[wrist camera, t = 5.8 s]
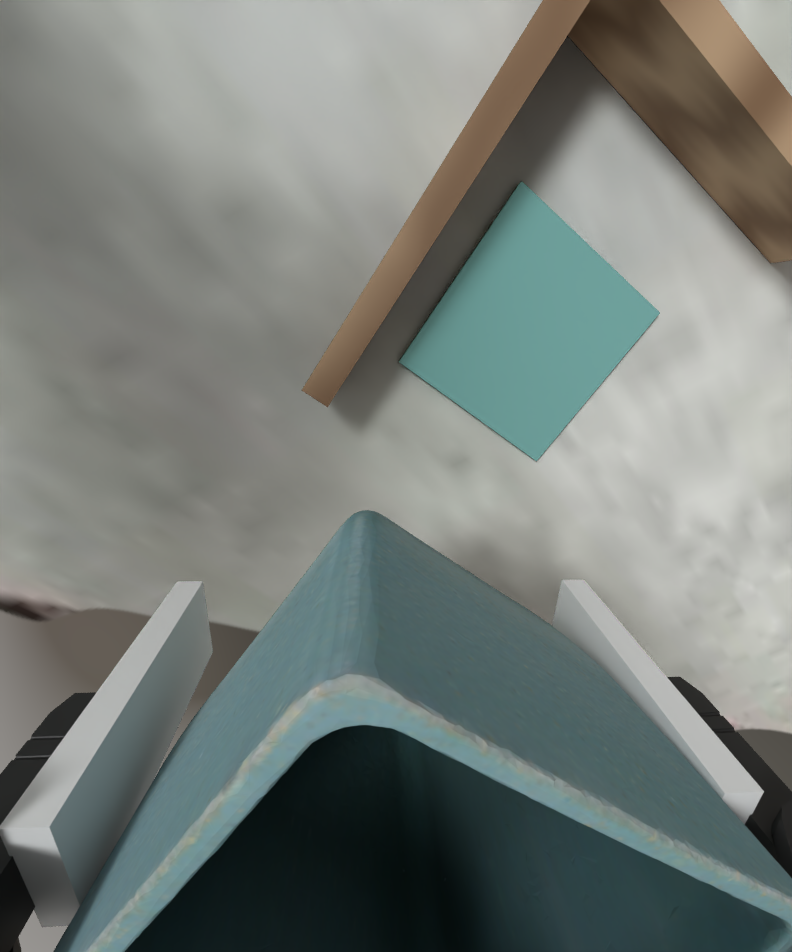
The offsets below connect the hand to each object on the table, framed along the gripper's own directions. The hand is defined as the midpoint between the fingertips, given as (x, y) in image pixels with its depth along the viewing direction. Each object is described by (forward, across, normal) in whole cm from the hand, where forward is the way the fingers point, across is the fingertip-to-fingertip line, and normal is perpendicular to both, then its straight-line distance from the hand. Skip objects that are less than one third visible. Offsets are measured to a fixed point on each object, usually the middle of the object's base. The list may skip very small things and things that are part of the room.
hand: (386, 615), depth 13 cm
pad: (+16, +10, +8) cm, 21 cm away
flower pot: (+1, 0, 0) cm, 1 cm away
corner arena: (+16, +11, +10) cm, 22 cm away
